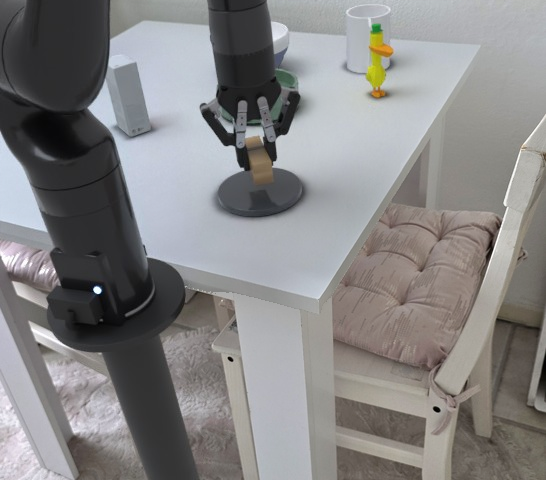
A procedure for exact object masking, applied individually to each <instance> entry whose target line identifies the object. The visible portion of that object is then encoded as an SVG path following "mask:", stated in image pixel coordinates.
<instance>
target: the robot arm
mask: <svg viewBox="0 0 546 480" xmlns="http://www.w3.org/2000/svg"><path fill="white" fill-rule="evenodd" d="M206 3H207V10H208V29H209V40H210V44H211V48H212V54H213V61H214V67H215V74H216V80H217V85H218V90H217V92H216V91H215V92H216V93H215V98H213V99H212V100H211V101H209V102H208V103H206V102H201V103H200V105H199V111H200V114H201V116H202V118H203V120H204V121H205V122H206V124H207V125H208V126H209V128H210V129H211V131H212V132H213V133H214V135H215V136H216V137H217V138H218V140H219V141H220V143H221V144H222V145H223V146H224V147H230V146H231V147H234V150H235V156H236V162H237V165H238V167H239V168H240V169H243V171H250V167H249V159H248V152H247V147H246V144H245V138H246V132H247V123H246V122H249V121H251V120H260V121H261V123H260V125H261V127H262V131H263V136H262V143H263V145H264V146H265V149H266V151H267V153H268V155H269V157H270V160H271V162H272V167H274V162H277V160H278V153H277V144H276V141H277V139H278V138H279V137H281V136H286V135H288V134H289V131H290V128H291V126H292V123H293V120H294V117H295V115H296V112H297V109H298V108H299V106H298V104H299V102H300V101H301V95H300V92H298V91H297V89H296V88H295V87H293V86H291V87H289V88H287V87H283V86H281V85H280V83H279V82H278V80H277V77H276V68H275V57H274V47H273V37H272V27H271V22H272V19H271V14H270V13H271V12H270V9H269V5H268V0H206ZM110 51H111V0H0V135H1V137H2V139H3V142H4V143H5V145H6V147H7V149H8V150H9V152H10V153H11V155H12V156H13V157H14V158H15V159H16V160H17V162H18V163H19V165H20V166H21V167H22V169H23V171H24V174H25V177H26V179H27V181H28V183H29V185H30V188H31V191H32V194H33V196H34V199H35V202H36V205H37V208H38V210H39V213H40V215H41V218H42V221H43V223H44V226H45V229H46V231H47V234H48V237H49V240H50V242H51V245H52V249H51V250H50V251H49V258H50V260H51V263H52V266H53V268H54V271H55V274H56V276H57V280H58V282H59V284H60V285H58V284H56V285H55V286H54V287H53V289H52V290H51V291H50V292H49V293H48V294H47V296H46V297H45V299H46V302H47V305H48V304H49V307H50V309H51V312H52V314H53V316H54V319H60V320H65V326H66V328H67V329H68V330H70V331H76V330H78V331H79V330H80V329H81V324H80V323H87V324H94V325H97V324H103V325H110V326H117V327H121V326H123V324H124V323H125V322H126V321H127V320H128V319H131V318H133V317H135V316H137V315H138V314H140V313H141V312H143V311H144V310H145V309H146V308H147V307H148V306H149V305H150V304H151V303H152V301H153V300H154V297H155V294H156V288H155V284H154V280H153V278H152V276H151V273H150V269H149V265H148V261H147V258H148V252H147V249H146V245H145V244H144V243H143V239H142V236H141V233H140V228H139V225H138V222H137V217H136V214H135V210H134V207H133V201H132V199H131V195H130V192H129V187H128V185H127V180H126V175H125V173H124V168H123V165H122V161H121V158H120V154H119V150H118V145H117V142H116V140H115V137H114V135H113V133H112V132H111V130H110V128H108V127H107V126H106V125H105V124H104V123H103V122H101V120H100V119H99V118H98V117H96V115H94V114H93V112H92V111H91V110H90V109H89V107H90V106H91V105H92V104H93V103H94V102H95V100H96V99H97V98H98V96H99V95H100V93H101V91H102V90H103V87H104V84H105V82H106V79H105V78H106V75H107V70H108V64H109V57H110ZM280 95H281V101H282V103H283V104H282V107H281V110H280V113H279V116H278V118H277V120H275V123H273V121H272V119H271V115H270V112H271V110H272V108H273V106H274V105H275V103H276V101H277V99H278V97H279V96H280ZM299 105H300V104H299ZM220 106H221V107H222V108H223V109H224V110H225V111H226V112H228V113H229V114H230V115H231V116H232V117H233V121H232V132H229V131H227V129H226V128H225V127H224V125H223V124H222V122H221V120H219V118H220V117H221V113H220V112H219V107H220ZM146 257H147V258H146ZM73 322H80V323H73Z"/></svg>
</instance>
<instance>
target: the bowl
mask: <svg viewBox="0 0 546 480" xmlns="http://www.w3.org/2000/svg"><path fill="white" fill-rule="evenodd" d="M271 27H272V37H273V47H274V57H275V68H277V69H279V66H280V65H281V64H282V62H283V61H284V59H285V55H286V53H287V51H288V49H289V47H290V46H289V45H290V31H289V28H288V27H287V26H286V24H283V23H281V22H277V21H271Z"/></svg>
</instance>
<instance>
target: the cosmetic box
mask: <svg viewBox="0 0 546 480" xmlns="http://www.w3.org/2000/svg"><path fill="white" fill-rule="evenodd" d="M141 81H142V80H141V77H140V72H139V67H138V63H137V61H136V60H134V59H132V58H131V57H129V56H127V55H126V54H124V53H119V54H116V55H113V56H109V64H108V70H107V75H106V78H105V82H106V86H107V90H108V93H109V98H110V102H111V105H112V109H113V113H114V117H115V121H116V125H117V127H118V128H119V129H120V130H121V131H123V133H125V134H126V135H127V136H128V137H130V138H132V137H135V136H138V135H141V134H143V133H146V132H149V131H152V126H151V122H150V116H149V112H148V108H147V104H146V99H145V94H144V90H143V85H142V82H141Z"/></svg>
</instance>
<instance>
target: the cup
mask: <svg viewBox="0 0 546 480" xmlns="http://www.w3.org/2000/svg"><path fill="white" fill-rule="evenodd" d="M391 14H392V9H391V7H390V6H387V5H385V4H378V3H367V4H359V5H355V6H353V7H350V8H348V9H347V10H346V11H345V35H346V36H345V37H346V68H347V70H349V71H350V72H352V73H357V74H367V73H368V66H369V67H371V65H372V59H371V50H370V48H369V46H370V31H372V26H371V25H373V24H381V29H382V30H383V31H382V33H383V43H384V44H386V45H388V46H390V47H391V24H392V23H391V19H392V17H391V16H392V15H391ZM390 64H391V56H390V57H384V56H382V59H381V65H382V67H383V68H384V69H385V70H387V69H388V68H389V67H390Z"/></svg>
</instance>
